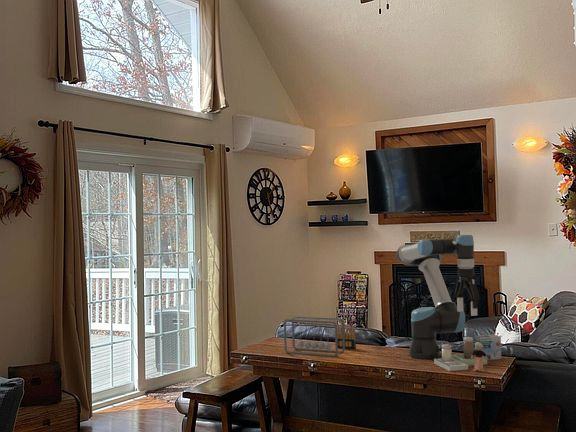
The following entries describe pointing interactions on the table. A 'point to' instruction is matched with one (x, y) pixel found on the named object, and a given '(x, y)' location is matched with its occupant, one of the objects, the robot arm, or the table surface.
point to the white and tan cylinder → (468, 347)
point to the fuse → (446, 353)
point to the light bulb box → (490, 345)
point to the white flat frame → (451, 365)
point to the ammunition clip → (346, 338)
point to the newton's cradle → (313, 344)
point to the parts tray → (467, 361)
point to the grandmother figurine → (478, 357)
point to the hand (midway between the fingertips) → (467, 313)
